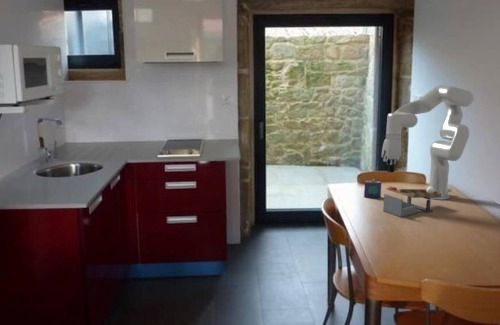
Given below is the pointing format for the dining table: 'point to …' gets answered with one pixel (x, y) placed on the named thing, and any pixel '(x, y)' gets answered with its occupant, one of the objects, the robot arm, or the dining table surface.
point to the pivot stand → (420, 206)
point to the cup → (398, 206)
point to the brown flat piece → (415, 193)
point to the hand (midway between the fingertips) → (390, 171)
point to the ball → (430, 190)
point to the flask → (372, 189)
